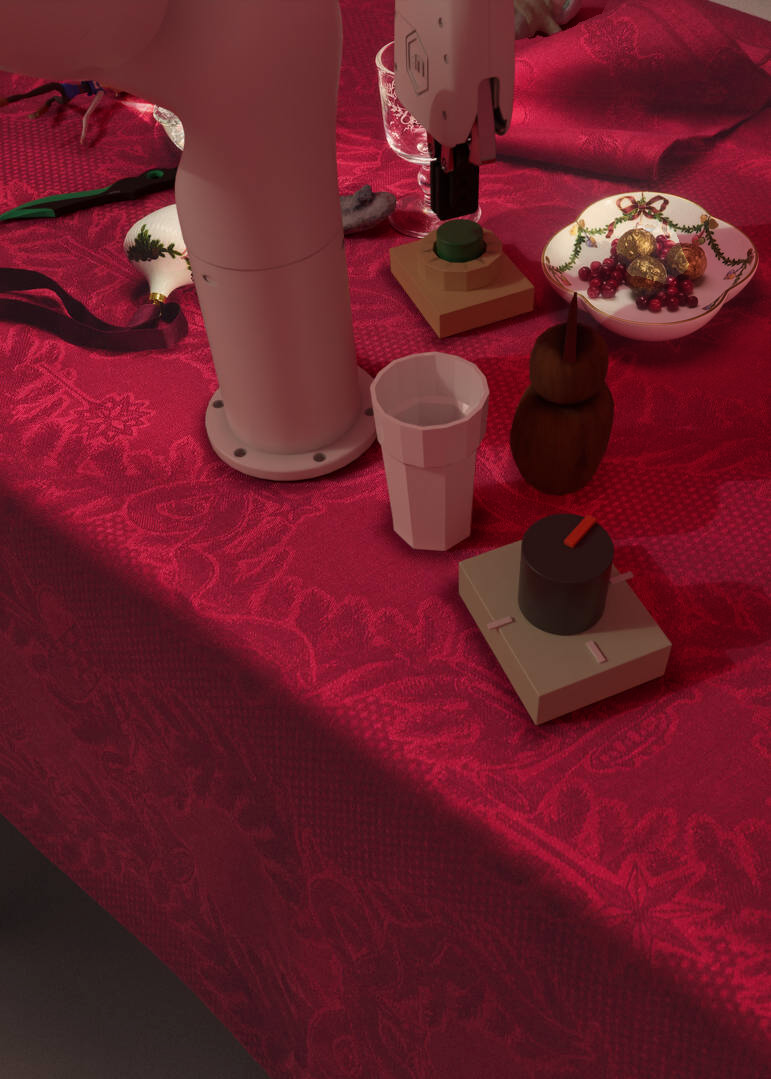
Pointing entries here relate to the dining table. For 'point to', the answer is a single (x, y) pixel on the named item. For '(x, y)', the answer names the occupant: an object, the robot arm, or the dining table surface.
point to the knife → (96, 195)
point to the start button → (459, 241)
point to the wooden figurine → (564, 409)
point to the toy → (542, 16)
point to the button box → (461, 285)
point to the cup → (430, 444)
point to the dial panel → (561, 639)
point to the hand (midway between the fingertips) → (454, 211)
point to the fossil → (366, 209)
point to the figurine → (64, 97)
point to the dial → (564, 573)
